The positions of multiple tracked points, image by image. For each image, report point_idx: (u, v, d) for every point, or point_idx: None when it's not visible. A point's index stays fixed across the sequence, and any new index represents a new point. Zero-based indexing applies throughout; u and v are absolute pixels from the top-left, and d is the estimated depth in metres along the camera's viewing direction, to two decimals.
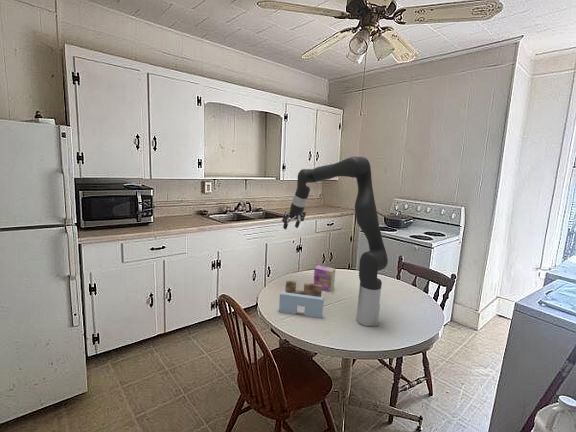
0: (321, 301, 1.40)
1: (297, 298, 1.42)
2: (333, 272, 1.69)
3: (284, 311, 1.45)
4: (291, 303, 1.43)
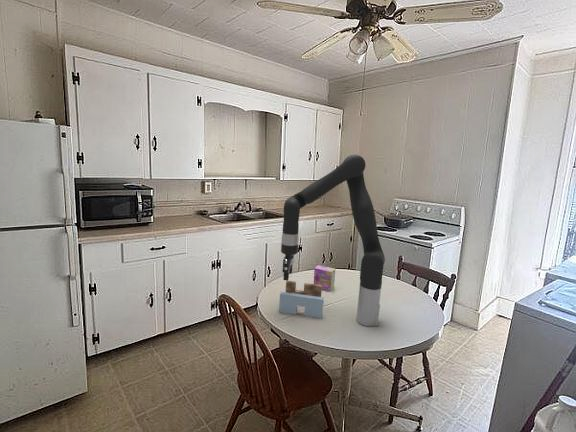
0: (321, 301, 1.40)
1: (297, 298, 1.42)
2: (333, 272, 1.69)
3: (284, 311, 1.45)
4: (291, 303, 1.43)
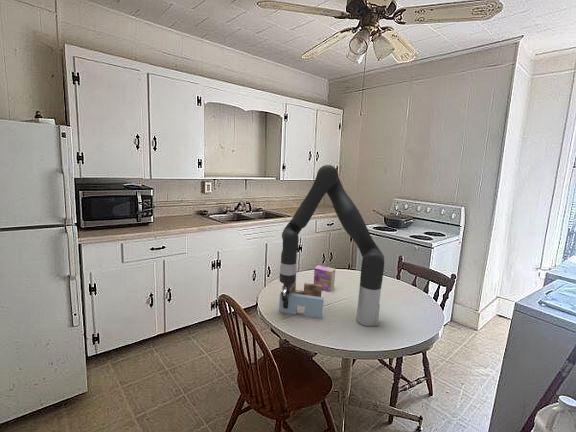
0: (321, 301, 1.40)
1: (297, 298, 1.42)
2: (333, 272, 1.69)
3: (284, 311, 1.45)
4: (291, 303, 1.43)
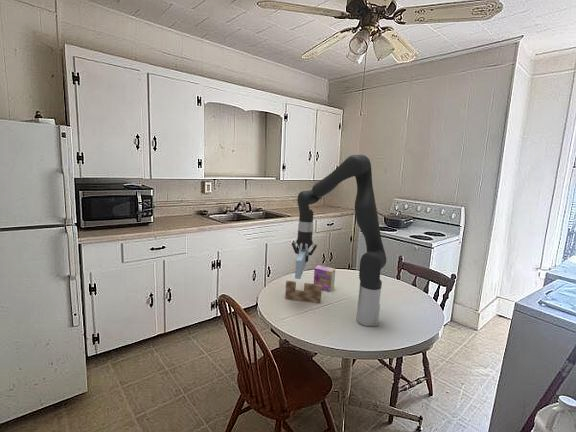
0: (296, 261, 1.45)
1: (299, 254, 1.56)
2: (333, 272, 1.69)
3: None
4: None
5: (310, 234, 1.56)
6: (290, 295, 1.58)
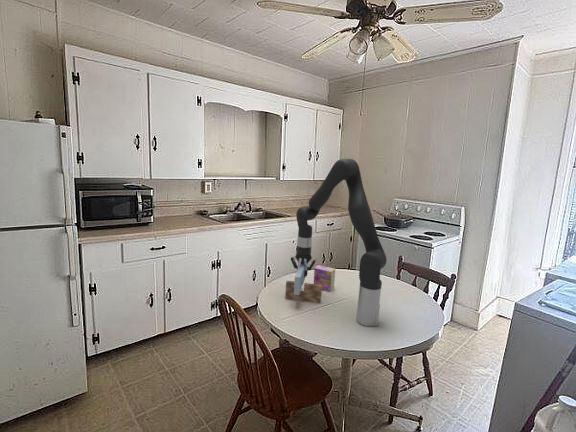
0: (295, 277, 1.47)
1: None
2: (333, 272, 1.69)
3: None
4: None
5: (309, 249, 1.58)
6: (290, 295, 1.58)
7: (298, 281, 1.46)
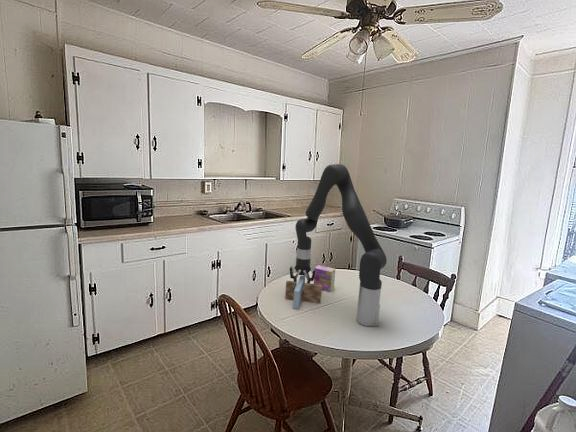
0: (294, 291, 1.48)
1: (298, 282, 1.59)
2: (333, 272, 1.69)
3: None
4: None
5: (308, 261, 1.59)
6: (290, 295, 1.58)
7: (297, 295, 1.48)
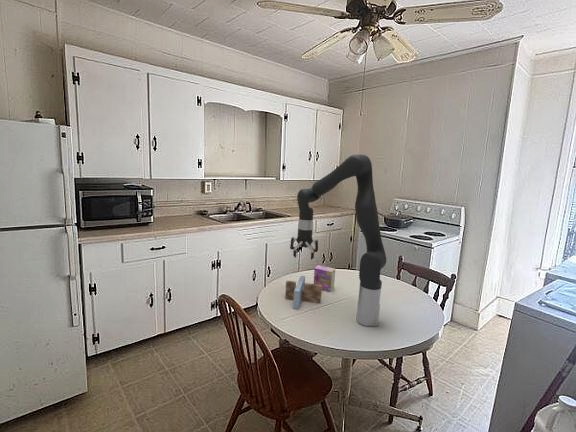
0: (294, 291, 1.48)
1: (298, 282, 1.59)
2: (333, 272, 1.69)
3: None
4: None
5: (310, 232, 1.56)
6: (290, 295, 1.58)
7: (297, 295, 1.48)
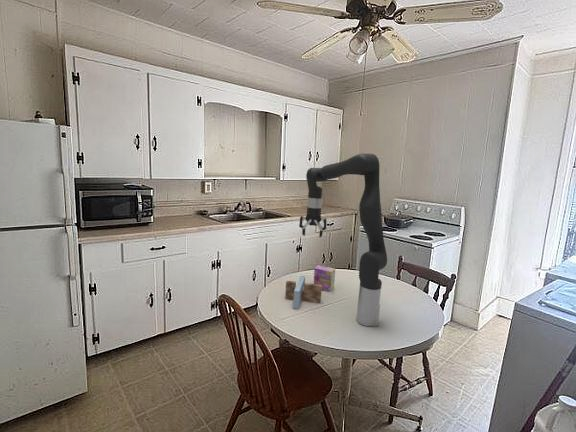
0: (294, 291, 1.48)
1: (298, 282, 1.59)
2: (333, 272, 1.69)
3: None
4: None
5: (319, 210, 1.60)
6: (290, 295, 1.58)
7: (297, 295, 1.48)
